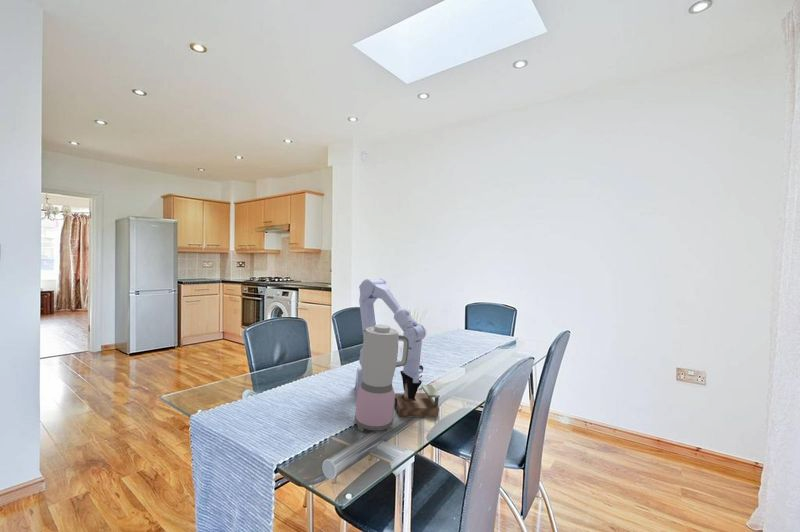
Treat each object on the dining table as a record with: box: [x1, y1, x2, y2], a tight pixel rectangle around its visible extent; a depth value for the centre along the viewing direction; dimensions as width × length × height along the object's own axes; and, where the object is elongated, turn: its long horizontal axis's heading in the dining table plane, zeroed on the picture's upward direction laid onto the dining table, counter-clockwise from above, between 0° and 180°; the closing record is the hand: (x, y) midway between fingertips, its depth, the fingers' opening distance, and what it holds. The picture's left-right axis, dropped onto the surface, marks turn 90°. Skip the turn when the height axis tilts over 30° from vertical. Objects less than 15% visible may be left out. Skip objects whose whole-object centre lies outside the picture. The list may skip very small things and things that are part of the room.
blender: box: [354, 324, 409, 432], centre depth 113 cm, size 16×12×32 cm
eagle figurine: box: [419, 364, 424, 379], centre depth 154 cm, size 8×7×9 cm
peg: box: [403, 383, 412, 401], centre depth 129 cm, size 3×3×8 cm
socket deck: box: [394, 384, 440, 418], centre depth 127 cm, size 14×12×7 cm
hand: (408, 394), depth 129 cm, fingers open, 6 cm apart
